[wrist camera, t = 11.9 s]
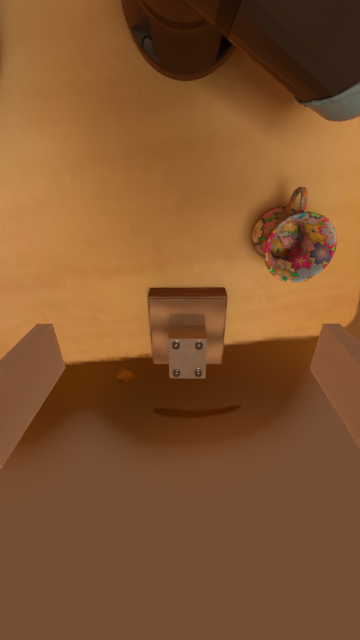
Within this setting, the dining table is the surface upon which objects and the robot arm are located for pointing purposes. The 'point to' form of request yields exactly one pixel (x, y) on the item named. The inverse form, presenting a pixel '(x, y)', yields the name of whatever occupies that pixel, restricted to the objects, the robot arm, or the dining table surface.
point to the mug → (294, 241)
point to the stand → (187, 302)
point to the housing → (187, 346)
